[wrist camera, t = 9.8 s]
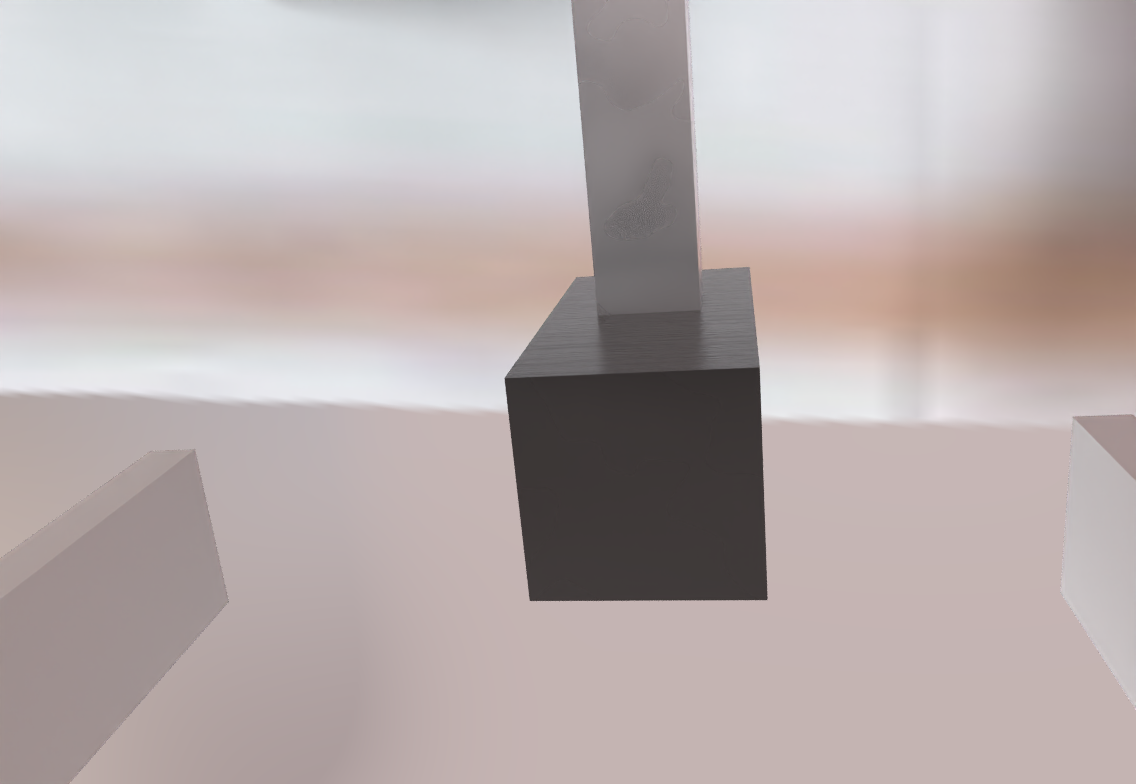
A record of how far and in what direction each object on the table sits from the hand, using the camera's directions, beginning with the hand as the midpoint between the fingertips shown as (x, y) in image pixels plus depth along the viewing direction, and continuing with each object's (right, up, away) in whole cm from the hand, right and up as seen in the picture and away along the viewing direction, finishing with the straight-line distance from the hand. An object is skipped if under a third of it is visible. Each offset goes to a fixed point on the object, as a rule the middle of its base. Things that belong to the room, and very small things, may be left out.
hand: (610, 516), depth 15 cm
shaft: (+1, +13, +5) cm, 14 cm away
